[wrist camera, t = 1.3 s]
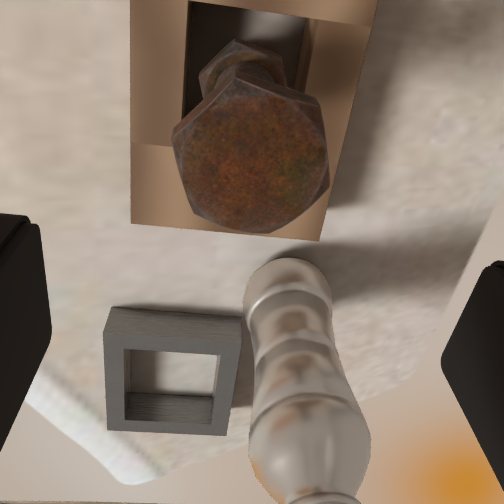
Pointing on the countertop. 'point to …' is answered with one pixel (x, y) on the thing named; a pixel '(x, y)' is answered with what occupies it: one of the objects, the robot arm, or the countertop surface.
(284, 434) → the plastic bottle
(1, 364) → the robot arm
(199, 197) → the bolt
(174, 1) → the wooden block with hole
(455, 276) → the countertop surface
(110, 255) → the countertop surface
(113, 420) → the frame
